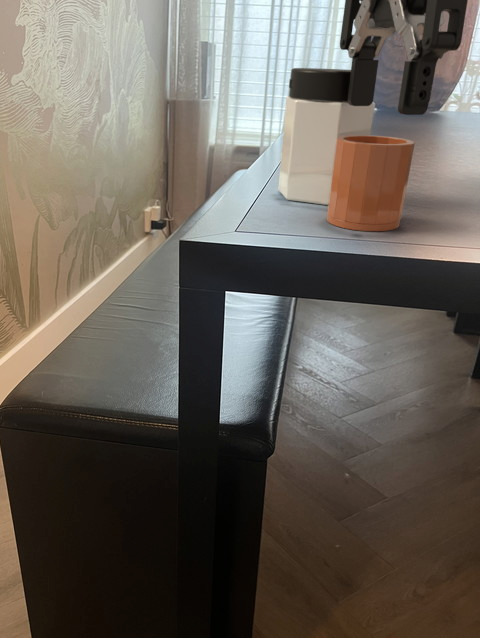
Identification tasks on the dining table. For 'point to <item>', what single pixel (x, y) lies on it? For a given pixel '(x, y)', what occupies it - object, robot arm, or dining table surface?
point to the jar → (317, 131)
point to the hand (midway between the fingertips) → (383, 109)
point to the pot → (369, 182)
